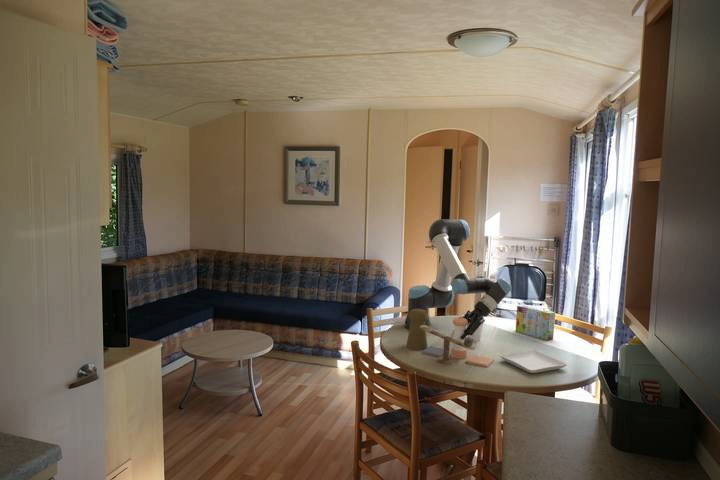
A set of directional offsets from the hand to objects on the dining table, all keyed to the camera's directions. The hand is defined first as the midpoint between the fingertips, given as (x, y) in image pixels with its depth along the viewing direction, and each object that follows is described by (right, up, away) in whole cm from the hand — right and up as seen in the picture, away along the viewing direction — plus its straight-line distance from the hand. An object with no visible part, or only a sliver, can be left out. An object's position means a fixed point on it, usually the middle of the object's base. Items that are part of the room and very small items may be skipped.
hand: (452, 341), depth 232 cm
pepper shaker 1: (-15, -6, +13) cm, 21 cm away
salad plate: (+35, -10, -8) cm, 37 cm away
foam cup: (+17, -5, +29) cm, 34 cm away
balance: (-4, -8, -6) cm, 11 cm away
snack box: (+53, -5, +40) cm, 66 cm away
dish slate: (-7, -7, +6) cm, 11 cm away
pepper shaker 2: (+3, -8, +2) cm, 8 cm away
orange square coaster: (+11, -8, -6) cm, 15 cm away
